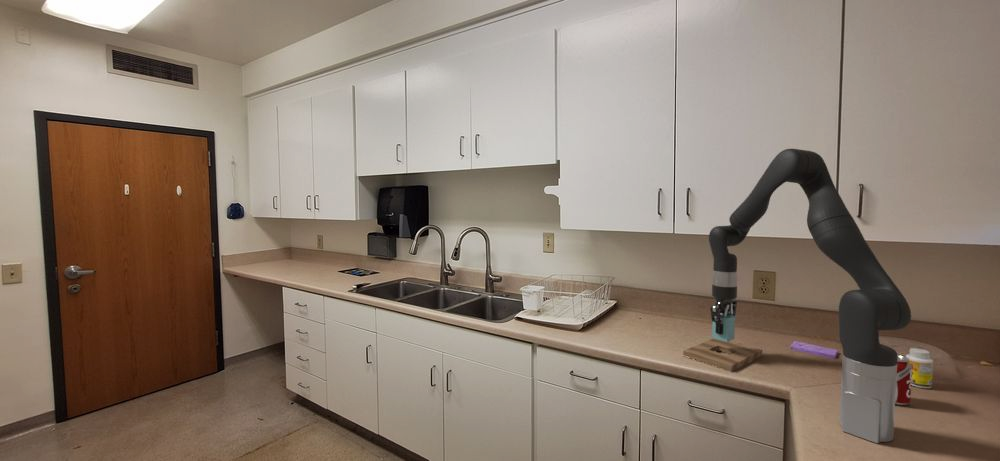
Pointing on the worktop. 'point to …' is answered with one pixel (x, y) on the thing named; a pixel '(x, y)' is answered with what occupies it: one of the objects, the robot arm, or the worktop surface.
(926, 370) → the supplement bottle
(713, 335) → the teal block
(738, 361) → the socket board
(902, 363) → the soda can
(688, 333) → the worktop surface
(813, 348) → the sponges
